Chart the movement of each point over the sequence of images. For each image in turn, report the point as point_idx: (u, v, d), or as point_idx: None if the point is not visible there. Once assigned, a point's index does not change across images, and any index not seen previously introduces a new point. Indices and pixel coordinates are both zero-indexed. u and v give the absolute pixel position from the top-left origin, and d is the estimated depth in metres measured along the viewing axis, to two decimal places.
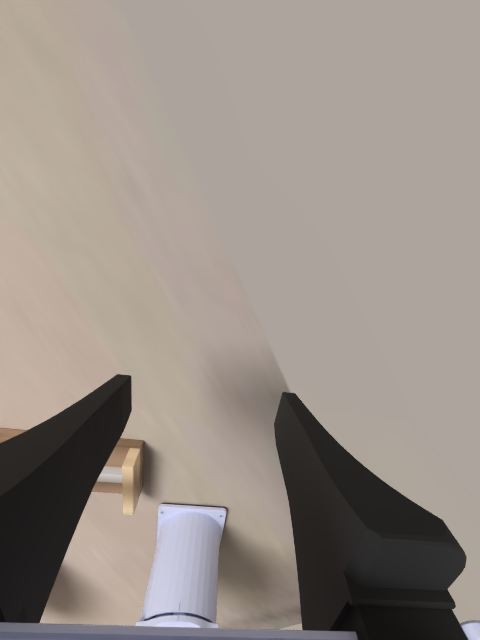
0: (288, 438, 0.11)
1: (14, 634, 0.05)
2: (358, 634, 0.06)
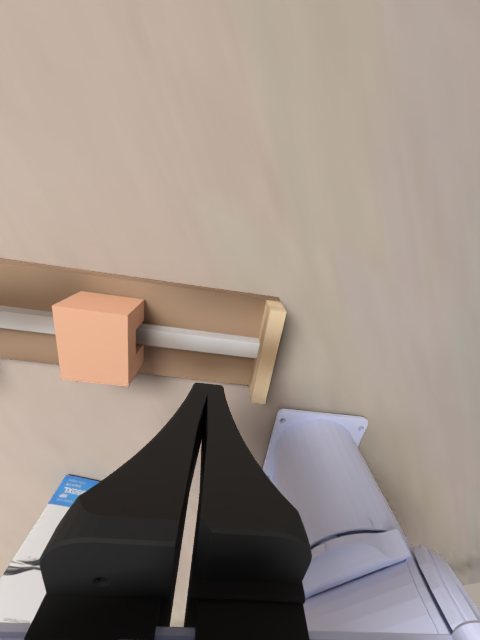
0: (204, 430, 0.10)
1: (14, 634, 0.05)
2: (195, 629, 0.05)
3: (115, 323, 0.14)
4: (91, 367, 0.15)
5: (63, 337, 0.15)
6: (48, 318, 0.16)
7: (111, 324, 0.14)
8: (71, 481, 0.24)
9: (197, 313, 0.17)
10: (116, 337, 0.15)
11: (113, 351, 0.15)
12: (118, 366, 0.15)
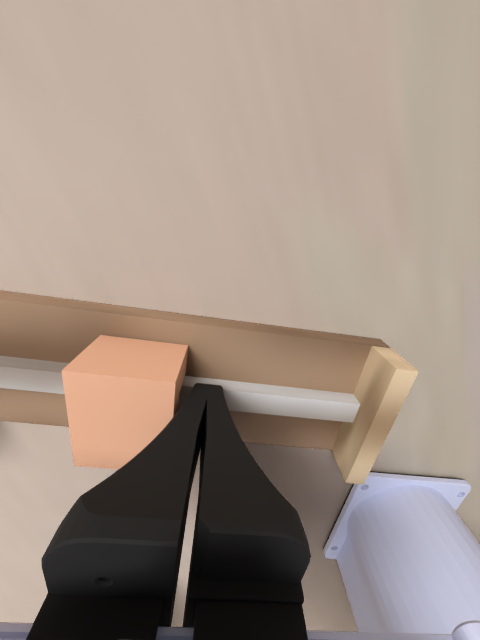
0: (203, 430, 0.10)
1: (14, 634, 0.05)
2: (194, 630, 0.05)
3: (156, 393, 0.10)
4: (118, 450, 0.11)
5: (78, 412, 0.10)
6: None
7: (150, 395, 0.10)
8: None
9: (275, 364, 0.13)
10: (156, 412, 0.10)
11: (151, 429, 0.10)
12: None
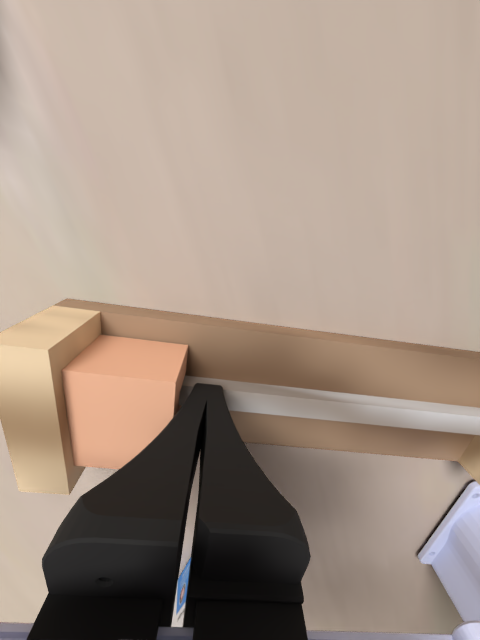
0: (203, 430, 0.10)
1: (14, 634, 0.05)
2: (193, 630, 0.05)
3: (156, 393, 0.10)
4: (118, 450, 0.11)
5: (78, 412, 0.10)
6: (248, 393, 0.12)
7: (150, 394, 0.10)
8: None
9: (427, 381, 0.13)
10: (156, 411, 0.10)
11: (150, 429, 0.10)
12: None
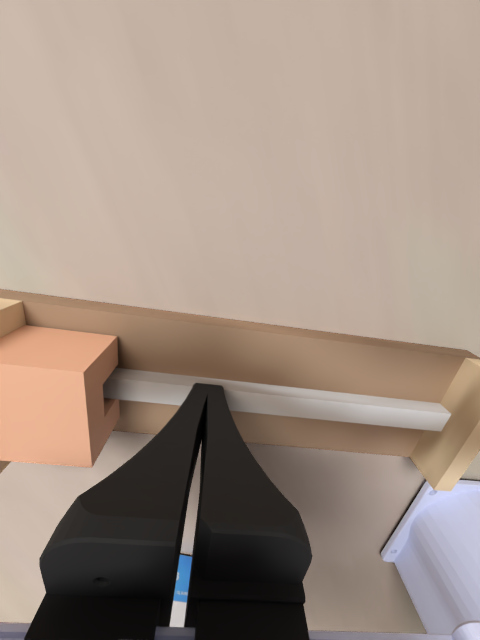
0: (204, 430, 0.10)
1: (14, 634, 0.05)
2: (195, 630, 0.05)
3: (65, 384, 0.09)
4: (34, 443, 0.10)
5: None
6: (181, 386, 0.12)
7: (59, 385, 0.09)
8: None
9: (370, 374, 0.13)
10: (68, 403, 0.09)
11: (65, 422, 0.10)
12: (74, 442, 0.10)
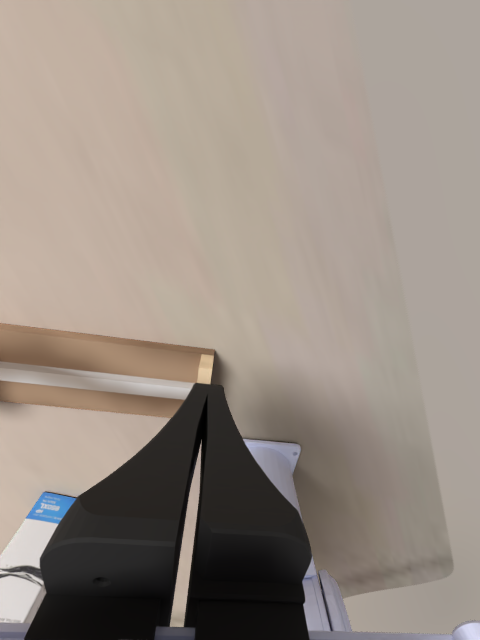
0: (204, 430, 0.10)
1: (14, 634, 0.05)
2: (195, 630, 0.05)
3: None
4: None
5: None
6: (20, 370, 0.20)
7: None
8: (47, 498, 0.27)
9: (145, 364, 0.21)
10: None
11: None
12: None
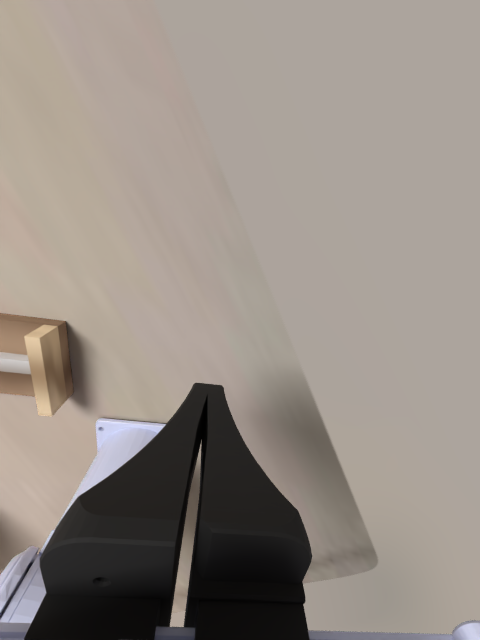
0: (204, 430, 0.10)
1: (14, 634, 0.05)
2: (195, 630, 0.05)
3: None
4: None
5: None
6: None
7: None
8: None
9: None
10: None
11: None
12: None
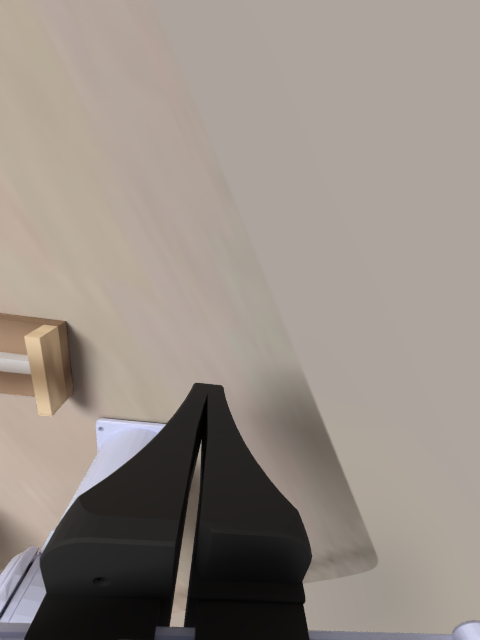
0: (204, 430, 0.10)
1: (14, 634, 0.05)
2: (195, 630, 0.05)
3: None
4: None
5: None
6: None
7: None
8: None
9: None
10: None
11: None
12: None
